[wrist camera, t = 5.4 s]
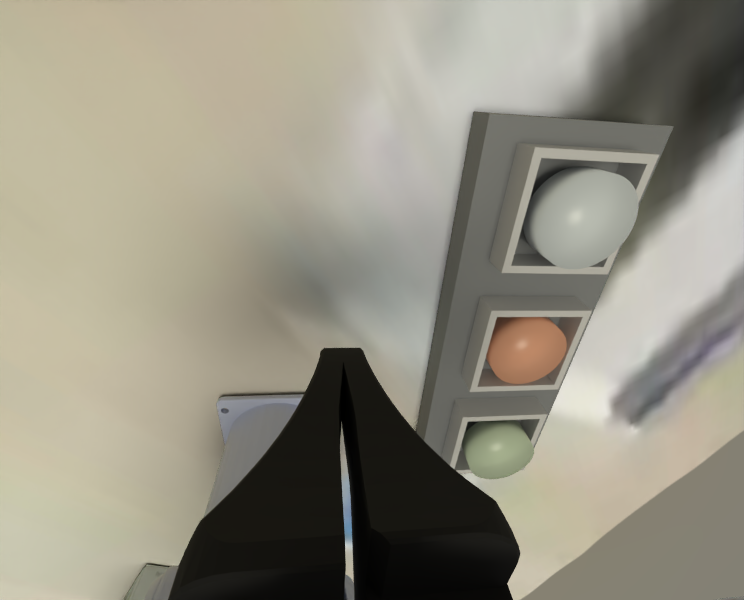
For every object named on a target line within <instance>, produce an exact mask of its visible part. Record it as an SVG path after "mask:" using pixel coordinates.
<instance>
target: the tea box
mask: <svg viewBox="0 0 744 600" xmlns="http://www.w3.org/2000/svg"><path fill="white" fill-rule="evenodd" d="M168 568H169V567H163V566H155V565H146V567H145V568H144V569H143V570H142V572H141V573H140V574H139V576H138V577H137V579H136V580H135V582H134V584H133V585H132V587H131V589H130V590H129V592H128V593H127V595H126V597H125V598H124V600H144V598H145V596H146V594H147V592H148V590H149V588H150V586H151V584H152V583H153V582H154V581H155V580H156V579H157V578H158V577H160V576H161V575H162V574H164V573H165V572H166V570H167V569H168Z"/></svg>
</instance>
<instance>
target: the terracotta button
mask: <svg viewBox="0 0 744 600" xmlns="http://www.w3.org/2000/svg"><path fill="white" fill-rule="evenodd" d="M566 348H567V342H566V337H565V335H564V333H563V332H562V331H561V330H560V329H559V328H558V327H557V326H556V325H555V324H554V323H553V322H552V321H551V320H550V319H549V318H548V317H498V318H497V319H496V322H495V326H494V329H493V333H492V336H491V340H490V344H489V347H488V351H487V354H486V360H487V361H488V363H489V365H490V366H491V368H492V370H493V371H494V373H495V375H496V376H497V377H498V378H499V379H501V380H503V381H505V382H508V383H512V384H524V383H529V382H533V381H536V380H538V379H540V378H542V377H544V376H546V375H547V374H549V373H550V372H551V371H553V370H554V369H555V368H556V367H557V366H558V364H559V363H560V362H561V360H562V359H563V357H564V355H565V352H566Z"/></svg>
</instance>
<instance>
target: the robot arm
mask: <svg viewBox="0 0 744 600" xmlns="http://www.w3.org/2000/svg"><path fill="white" fill-rule="evenodd" d="M216 406H217V410H218V415H219V420H220V425H221V429H222V434H223V439H224V444H225V448H224V452H223V455H222V458H221V462H220V465H219V468H218V472H217V475H216V478H215V482H214V485H213V488H212V492H211V495H210V498H209V502H208V505H207V508H206V512H205V515H204V518H203V519H202V520H201V521H200V523H199V524H198V526H197V528H196V530H195V532H194V534H193V536H192V538H191V540H190V542H189V544H188V546H187V548H186V550H185V552H184V555H183V557H182V560H181V562H180V564H179V566H170V567H169V568H168V569H167V570H166V572H165V573H164V574H162V575H161V576H160V577H158V578H157V579H156V580H155V581H154V582H153V583H152V584H151V586H150V588H149V590H148V592H147V594H146V596H145V598H144V600H513V599H512V596H511V593H510V590H509V588H508V585H507V583H508V581H509V579H510V577H511V575H512V573H513V571H514V569H515V567H516V565H517V563H518V560H519V556H520V550H519V546H518V544H517V541H516V539H515V536H514V534H513V532H512V530H511V528H510V526H509V524H508V522H507V520H506V518H505V517H504V515H503V513H502V511H501V509H500V508H499V506H498V504H497V502H496V501H495V500H494V499H492V498H491V497H490V496H488V495H487V494H485V493H484V492H483V491H481V490H480V489H479V488H477V487H476V486H475V485H473V484H472V483H471V482H469V481H468V480H466V479H465V478H464V477H463V476H462V475H460V474H459V473H458V472H457V471H456V470H455V469H453V468H452V467H451V466H450V465H449V464H448V463H447V462H446V461H444V460H443V459H442V458H441V457H440V456H439V455H438V454H437V453H436V452H435V451H434V450H433V449H432V448H431V447H430V446H429V445H428V444H427V443H426V442H425V441H424V440H423V439H422V438H421V437H420V436H419V435H418V434H417V433H416V432H415V430H414V429H413V428H412V427H411V426H410V425H409V424H408V422H407V421H406V420H405V419H404V417H403V416H402V415H401V414H400V412H399V411H398V410H397V408H396V407H395V406H394V404H393V403H392V402H391V400H390V399H389V397H388V396H387V394H386V393H385V391H384V390H383V388H382V386H381V385H380V383H379V382H378V380H377V378H376V377H375V375H374V373H373V371H372V369H371V367H370V366H369V364H368V361H367V359H366V357H365V355H364V352H363V350H362V349H361V348H324V349H323V350H322V351H321V353H320V358H319V361H318V364H317V367H316V370H315V372H314V375H313V377H312V379H311V381H310V383H309V385H308V388H307V390H306V392H305V394H298V395H262V396H225V397H220V398H219V399H218V401H217V404H216ZM224 408H227V409H224ZM341 421H342V428H343V435H344V443H345V451H346V459H347V467H348V474H349V482H350V494H351V516H352V542H353V571H354V583H353V581H352V580H351V578H350V577H349V576H347V575H345V570H346V563H345V534H344V518H343V501H342V482H341V462H340V435H341ZM717 600H744V596H740V597H731V598H722V599H717Z"/></svg>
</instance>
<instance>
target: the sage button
mask: <svg viewBox="0 0 744 600" xmlns="http://www.w3.org/2000/svg"><path fill="white" fill-rule="evenodd" d="M461 445H462V449H463V452H464V454H465V457H466V460H467V462H468V465H469V468H470V470H471V471H472V473H473V474H475V475H476V476H478V477H481V478H485V479H498V478H503V477H507V476H510V475H512V474H514V473H516V472H518V471H520V470H521V469H523V468H524V467H525V466H526V465H527V464H528V463H529V462H530V460H531V459H532V457H533V454H534V447H533V445H532V443H531V441H530V440H529V438H528V436H527V435H526V433H525V431H524V429H523V428H522V426H521V424H520V423H519V422H518V421H517V420H497V421H480V422H478V423H476V424H475V425H473V426H472V427H471V428H469V429H468V430H467V432H466V433H465V434H464V437H463V440H462V444H461Z"/></svg>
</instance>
